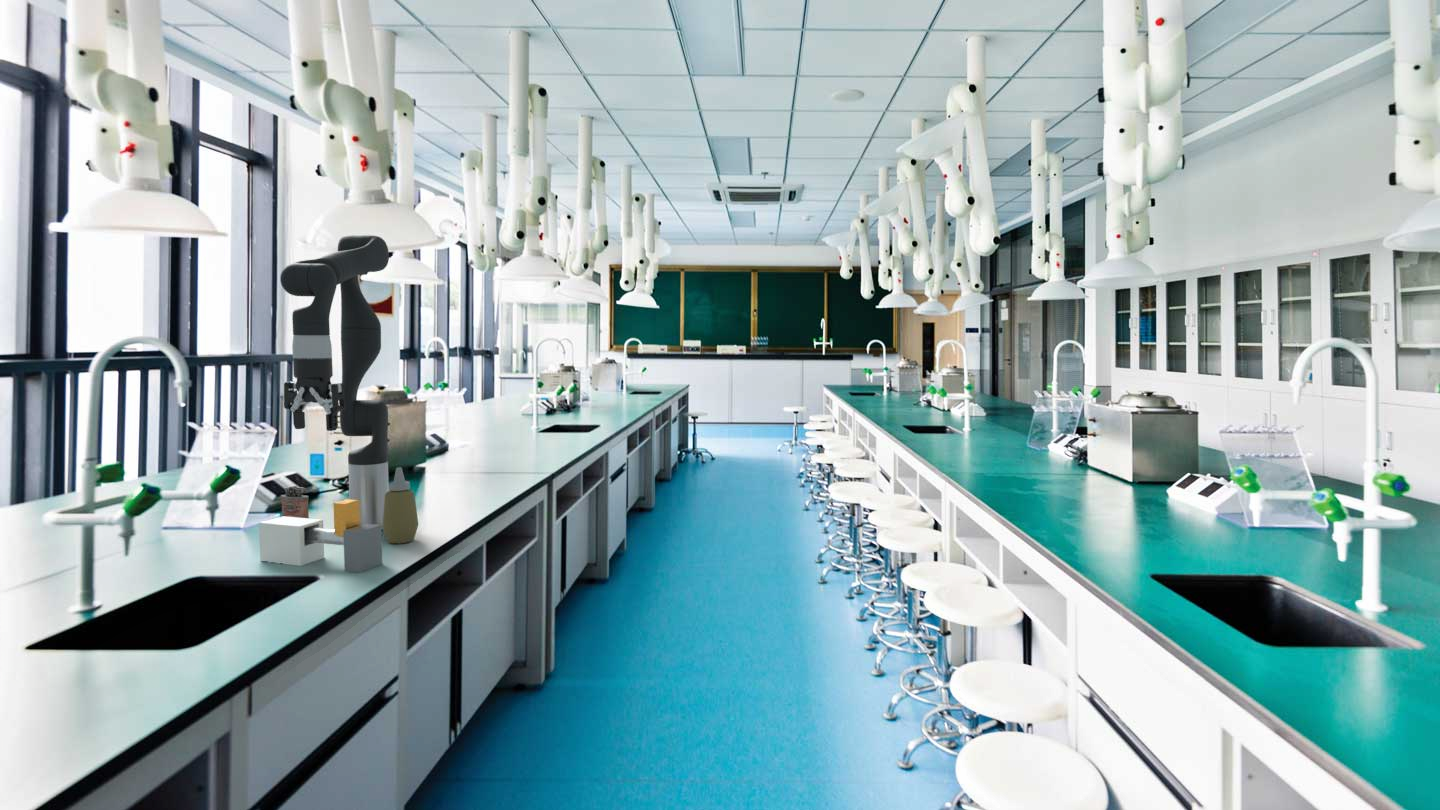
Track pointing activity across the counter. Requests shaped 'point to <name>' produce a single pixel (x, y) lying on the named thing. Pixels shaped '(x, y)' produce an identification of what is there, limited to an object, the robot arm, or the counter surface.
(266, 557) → the white box
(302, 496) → the lighter
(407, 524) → the squeeze bottle
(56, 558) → the counter surface
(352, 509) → the slip tube
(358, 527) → the gray box
